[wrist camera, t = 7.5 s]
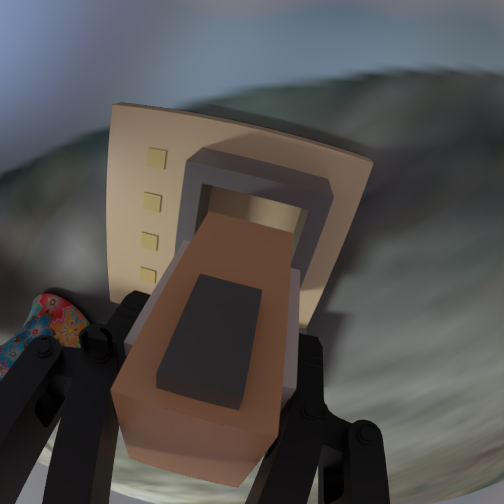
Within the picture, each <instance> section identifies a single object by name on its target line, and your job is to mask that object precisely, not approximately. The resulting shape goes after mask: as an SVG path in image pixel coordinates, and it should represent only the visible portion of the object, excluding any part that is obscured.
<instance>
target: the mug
mask: <svg viewBox="0 0 504 504" xmlns="http://www.w3.org/2000/svg"><path fill="white" fill-rule="evenodd" d="M89 325H90V323H89V322H88V320H87V319H86V318H85V316H84V315H83V314H82V313H81V312H80V311H79V310H78V309H77V308H76V307H75V306H74V305H72V304H71V303H70V302H68V301H66V300H65V299H63V298H61V297H59V296H57V295H54V294H48V293H45V294H40V295H38V296H36V297H35V299H34V300H33V303H32V308H31V311H30V314H29V316H28V318H27V320H26V322H25V323H24V325H23V326H22V327H21V329H20V330H19V331H18V332H17V333H16V334H15V335H14V336H13V337H12V338H11V339H10V340H9V341H7V342H6V343H5V344H3V345H1V346H0V381H1V380H2V378H3V377H4V376H5V374H6V373H7V372H8V370H9V369H10V368H11V366H12V365H13V364H14V362H15V361H16V360H17V358H18V357H19V356H20V355H21V353H22V352H23V351H24V349H25V348H26V347H27V346H28V344H29V343H30V342H31V341H32V340H33V339H34V338H36V337H38V336H41V335H49V336H53V337H55V338H56V339H57V340H58V341H59V343H60V345H61V346H66V347H75V348H81V345H80V341H79V337H78V335H79V333H80V332H81V330H82V329H84V328H85V327H87V326H89Z"/></svg>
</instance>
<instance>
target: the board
mask: <svg viewBox="0 0 504 504" xmlns="http://www.w3.org/2000/svg"><path fill="white" fill-rule="evenodd" d="M373 164H374V163H373V162H372V161H371V159H370V158H368V157H365V156H362V155H359V154H356V153H353V152H350V151H347V150H343V149H340V148H337V147H334V146H331V145H327V144H324V143H321V142H317V141H314V140H310V139H307V138H303V137H299V136H296V135H292V134H288V133H284V132H281V131H277V130H273V129H269V128H265V127H260V126H256V125H252V124H247V123H243V122H238V121H234V120H229V119H224V118H219V117H214V116H209V115H204V114H198V113H193V112H187V111H181V110H175V109H168V108H161V107H154V106H147V105H139V104H130V103H117V104H113V105H112V113H111V123H110V135H109V149H108V166H107V200H106V226H107V259H108V278H109V292H110V301H112V302H115V303H118V304H120V303H121V302H122V300H123V299H124V297H125V296H126V295H128V294H129V293H131V292H132V291H134V290H137V291H140V292H143V293H147V294H150V295H151V294H152V292H153V290H154V289H155V287H156V285H157V284H158V282H159V280H160V279H161V277H162V275H163V274H164V272H165V270H166V269H167V267H168V265H169V264H170V262H171V261H172V259H173V257H174V256H175V254H176V253H177V251H178V249H179V248H180V246H181V244H182V243H183V241H184V240H185V241H189V242H191V240H192V239H193V237H194V235H195V234H196V232H197V230H198V229H199V227H200V225H201V224H202V222H203V220H204V219H205V217H206V215H207V214H208V212H209V211H210V212H214V213H218V214H222V215H226V216H230V217H234V218H238V219H242V220H246V221H250V222H253V223H257V224H261V225H265V226H269V227H273V228H277V229H280V230H284V231H288V232H292V252H291V268H294V269H297V270H300V304H299V328H304V329H306V328H307V326H308V323H309V321H310V319H311V317H312V315H313V313H314V310H315V308H316V306H317V304H318V302H319V299H320V297H321V295H322V293H323V290H324V288H325V286H326V283H327V281H328V279H329V277H330V274H331V272H332V270H333V267H334V265H335V262H336V260H337V258H338V255H339V253H340V250H341V248H342V246H343V243H344V241H345V238H346V236H347V233H348V231H349V228H350V226H351V223H352V221H353V218H354V215H355V213H356V210H357V208H358V205H359V202H360V200H361V197H362V194H363V192H364V189H365V186H366V183H367V181H368V178H369V175H370V172H371V170H372V167H373Z"/></svg>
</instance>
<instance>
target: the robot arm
mask: <svg viewBox="0 0 504 504" xmlns="http://www.w3.org/2000/svg"><path fill="white" fill-rule="evenodd" d="M189 244H190V242H189V241H185V240H184V241H183V243H182V244H181V246H180V248H179V249H178V251H177V253H176V254H175V256H174V257H173V259H172V261H171V262H170V264H169V265H168V267H167V269H166V270H165V272H164V274H163V275H162V277H161V279H160V280H159V282H158V284H157V285H156V287H155V289H154V290H153V292H152V294H151V295H150V294H147V293H143V292H140V291H137V290H134V291H132V292H131V293H129V294H128V295H126V296H125V297H124V299H123V300H122V302H121V303H120V306H118V308H117V309H116V311H115V314H113V316H112V317H111V319H110V320H109V322H108V323H107V325H106V326H105V325H102V324H93V325H89V326H87V327H85V328H84V329H82V330H81V332H80V333H79V335H78V337H79V341H80V345H81V348H75V347H66V346H61V345H60V343H59V341H58V340H57V339H56V338H55V337H53V336H49V335H41V336H38V337H36V338H34V339H33V340H32V341H31V342H30V343H29V344H28V346H27V347H26V348H25V349H24V351H23V352H22V353H21V355H20V356H19V357H18V358H17V360H16V361H15V362H14V364H13V365H12V366H11V368H10V369H9V370H8V372H7V373H6V374H5V376H4V377H3V378H2V380H1V381H0V504H15V503H16V500H17V498H18V496H19V494H20V492H21V490H22V488H23V486H24V484H25V482H26V480H27V478H28V476H29V475H30V473H31V471H32V469H33V467H34V465H35V463H36V461H37V459H38V457H39V456H40V454H41V452H42V450H43V448H44V446H45V445H46V443H47V441H48V439H49V437H50V436H51V434H52V432H53V430H54V429H55V427H56V425H57V423H58V422H59V420H60V418H61V420H60V424H59V427H58V431H57V435H56V439H55V443H54V447H53V452H52V456H51V460H50V465H49V470H48V475H47V480H46V486H45V490H44V496H43V502H42V504H109V496H110V487H111V479H112V471H113V464H114V457H115V450H116V444H117V437H118V431H119V422H118V418H117V414H116V410H115V407H114V403H113V399H112V395H111V391H110V390H111V388H112V386H113V384H114V382H115V380H116V378H117V376H118V374H119V372H120V370H121V368H122V366H123V364H124V362H125V360H126V358H127V356H128V354H129V352H130V350H131V348H132V346H133V344H134V343H135V341H136V339H137V337H138V335H139V333H140V331H141V329H142V327H143V326H144V324H145V322H146V320H147V318H148V316H149V315H150V313H151V311H152V309H153V307H154V305H155V304H156V302H157V300H158V298H159V296H160V295H161V293H162V291H163V289H164V287H165V286H166V284H167V282H168V280H169V278H170V277H171V275H172V273H173V271H174V270H175V268H176V266H177V264H178V263H179V261H180V259H181V258H182V256H183V254H184V252H185V251H186V249H187V247H188V246H189ZM299 304H300V270H297V269H294V268H291V271H290V289H289V306H288V321H287V335H286V349H285V362H284V374H283V386H282V397H281V408H280V418H279V428H278V437H277V438H276V439H275V441H274V442H273V443H272V445H271V446H270V447H269V449H268V450H267V451H266V453H265V456H264V458H263V461H262V463H261V466H260V468H259V471H258V473H257V476H256V478H255V481H254V483H253V486H252V488H251V490H250V493H249V495H248V498H247V500H246V502H245V504H307V501H308V497H309V494H310V491H311V487H312V484H313V480H314V477H315V473H316V470H317V466H318V504H390V498H389V487H388V478H387V469H386V460H385V452H384V445H383V438H382V434H381V431H380V429H379V428H378V427H377V425H376V424H374V423H372V422H371V421H368V420H357V421H356V422H354V423H350V422H347V421H345V420H343V419H341V418H338V417H337V416H335V415H333V414H332V413H331V412H330V411H329V410H328V407H327V405H326V404H325V402H324V385H323V360H322V359H323V347H322V345H321V343H320V341H319V339H318V337H315V336H310V335H306V334H301V333H299Z"/></svg>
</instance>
